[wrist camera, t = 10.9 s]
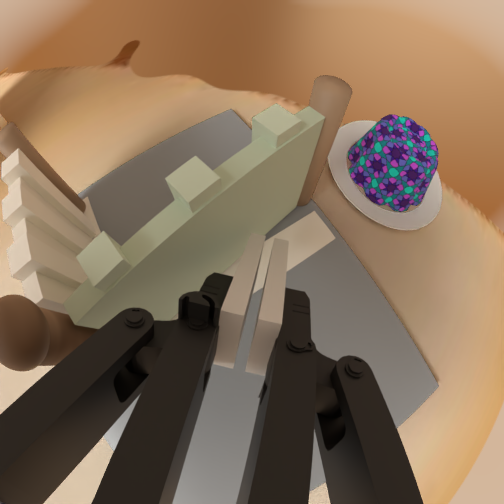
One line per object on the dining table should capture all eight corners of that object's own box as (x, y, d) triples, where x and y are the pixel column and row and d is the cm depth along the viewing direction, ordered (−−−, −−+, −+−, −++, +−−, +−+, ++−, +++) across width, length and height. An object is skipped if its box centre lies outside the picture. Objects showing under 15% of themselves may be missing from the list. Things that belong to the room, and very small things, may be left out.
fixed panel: (70, 210, 21) (-6, 135, 10) (86, 198, 21) (15, 116, 11) (117, 331, 18) (5, 309, 7) (137, 319, 18) (32, 285, 8)
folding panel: (155, 340, 17) (61, 331, 7) (138, 319, 18) (38, 286, 8) (315, 196, 21) (359, 90, 11) (297, 180, 21) (327, 70, 11)
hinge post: (114, 336, 18) (-33, 309, 5) (142, 319, 18) (4, 271, 6) (131, 368, 17) (-14, 382, 5) (160, 351, 18) (25, 352, 5)
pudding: (447, 242, 21) (482, 218, 16) (326, 223, 21) (347, 188, 16) (424, 140, 25) (446, 110, 20) (322, 115, 25) (334, 75, 20)
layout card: (27, 237, 20) (24, 235, 20) (231, 111, 24) (231, 108, 24) (193, 537, 12) (192, 540, 12) (436, 385, 17) (439, 386, 16)
